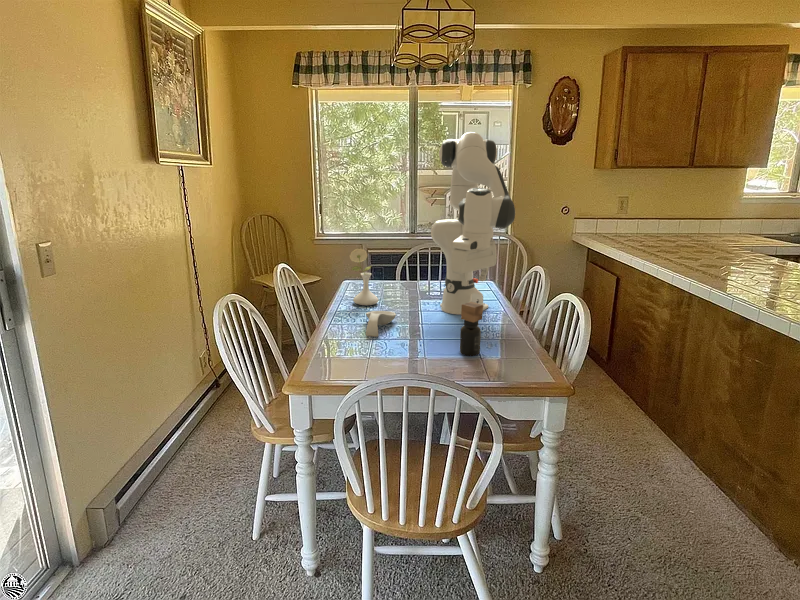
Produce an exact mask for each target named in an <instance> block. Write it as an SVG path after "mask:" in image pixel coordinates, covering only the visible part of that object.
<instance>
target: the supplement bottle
mask: <svg viewBox="0 0 800 600" xmlns="http://www.w3.org/2000/svg"><path fill="white" fill-rule="evenodd" d="M479 323H480V322H479V321H476V322H470V321H466V320H463V325H462V326H461V328H460V334H459V335H460V336H459V337H460V338H459V339H460V340H459V353H460V354H461V355H462V356H465V357H477V356H479V355H480V354H481V343H482V329H481V328H480V326H479Z"/></svg>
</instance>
